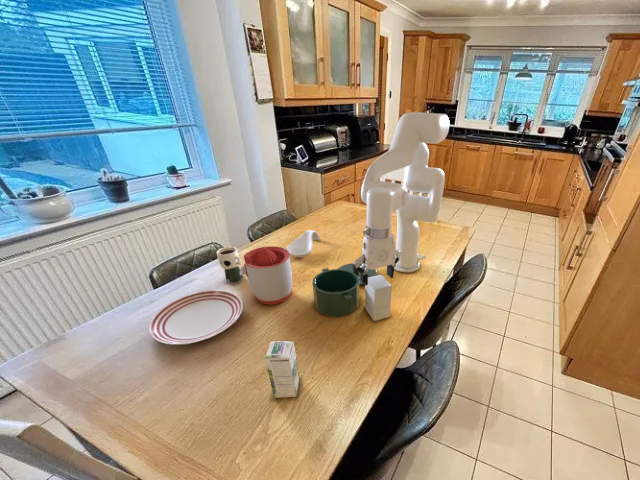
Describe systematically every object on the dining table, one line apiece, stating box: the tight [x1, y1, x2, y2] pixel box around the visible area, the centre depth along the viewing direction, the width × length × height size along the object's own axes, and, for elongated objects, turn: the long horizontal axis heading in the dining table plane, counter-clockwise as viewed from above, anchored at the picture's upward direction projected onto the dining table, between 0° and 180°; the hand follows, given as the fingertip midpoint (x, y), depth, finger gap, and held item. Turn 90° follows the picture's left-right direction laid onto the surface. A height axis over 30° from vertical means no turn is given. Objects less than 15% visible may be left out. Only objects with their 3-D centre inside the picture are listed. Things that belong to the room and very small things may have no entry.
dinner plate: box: [148, 289, 244, 346], centre depth 101 cm, size 28×27×3 cm
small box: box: [364, 274, 393, 322], centre depth 105 cm, size 8×6×13 cm
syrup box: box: [264, 340, 300, 399], centre depth 77 cm, size 6×6×14 cm
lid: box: [337, 260, 378, 286], centre depth 128 cm, size 17×17×6 cm
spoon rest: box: [285, 229, 321, 258], centre depth 146 cm, size 24×12×7 cm, turn 167°
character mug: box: [216, 246, 244, 283], centre depth 120 cm, size 11×7×13 cm, turn 70°
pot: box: [312, 267, 361, 317], centre depth 110 cm, size 16×22×10 cm
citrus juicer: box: [240, 245, 293, 305], centre depth 109 cm, size 16×17×20 cm
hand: (377, 279), depth 101 cm, fingers open, 9 cm apart
